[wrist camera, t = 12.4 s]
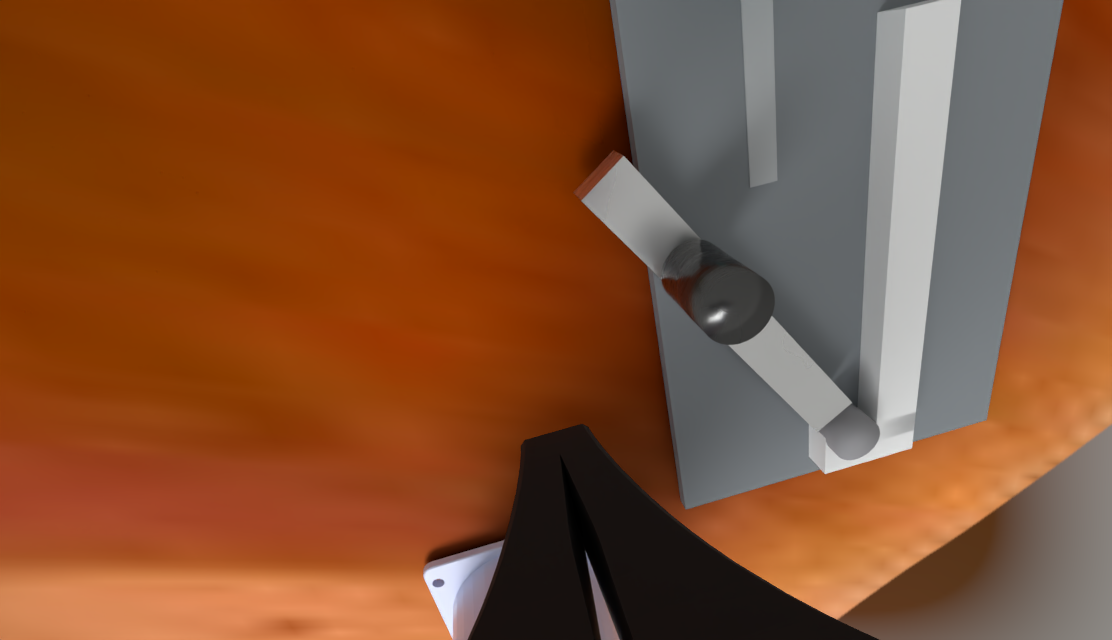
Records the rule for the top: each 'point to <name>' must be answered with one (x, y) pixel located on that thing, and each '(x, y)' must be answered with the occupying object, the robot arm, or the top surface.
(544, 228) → the top surface
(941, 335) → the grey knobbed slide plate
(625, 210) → the black knobbed slide plate
